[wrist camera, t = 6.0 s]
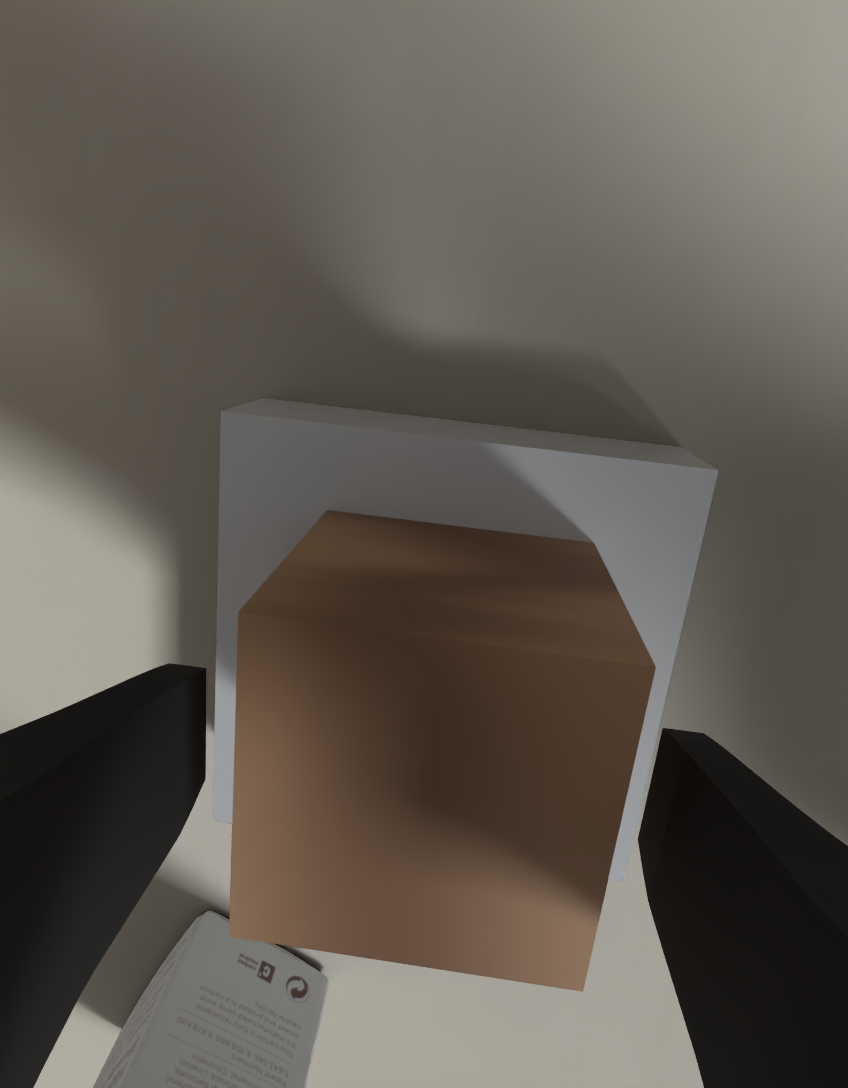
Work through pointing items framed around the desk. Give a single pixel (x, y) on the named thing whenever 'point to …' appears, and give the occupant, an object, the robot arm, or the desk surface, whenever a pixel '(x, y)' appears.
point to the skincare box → (221, 1017)
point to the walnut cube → (434, 747)
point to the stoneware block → (457, 521)
